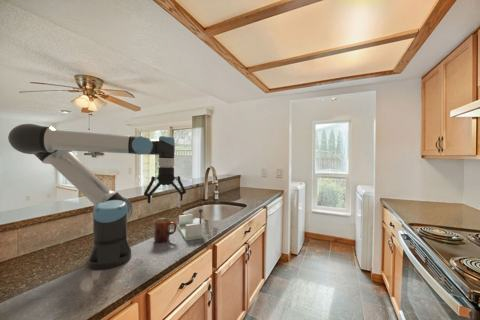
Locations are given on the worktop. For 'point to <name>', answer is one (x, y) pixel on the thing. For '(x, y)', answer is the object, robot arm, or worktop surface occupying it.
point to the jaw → (185, 219)
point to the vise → (191, 230)
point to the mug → (162, 229)
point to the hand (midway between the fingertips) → (165, 208)
